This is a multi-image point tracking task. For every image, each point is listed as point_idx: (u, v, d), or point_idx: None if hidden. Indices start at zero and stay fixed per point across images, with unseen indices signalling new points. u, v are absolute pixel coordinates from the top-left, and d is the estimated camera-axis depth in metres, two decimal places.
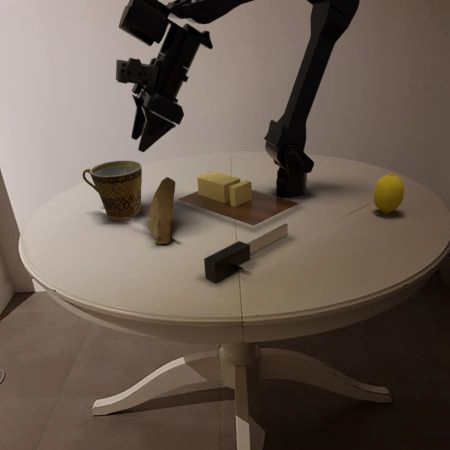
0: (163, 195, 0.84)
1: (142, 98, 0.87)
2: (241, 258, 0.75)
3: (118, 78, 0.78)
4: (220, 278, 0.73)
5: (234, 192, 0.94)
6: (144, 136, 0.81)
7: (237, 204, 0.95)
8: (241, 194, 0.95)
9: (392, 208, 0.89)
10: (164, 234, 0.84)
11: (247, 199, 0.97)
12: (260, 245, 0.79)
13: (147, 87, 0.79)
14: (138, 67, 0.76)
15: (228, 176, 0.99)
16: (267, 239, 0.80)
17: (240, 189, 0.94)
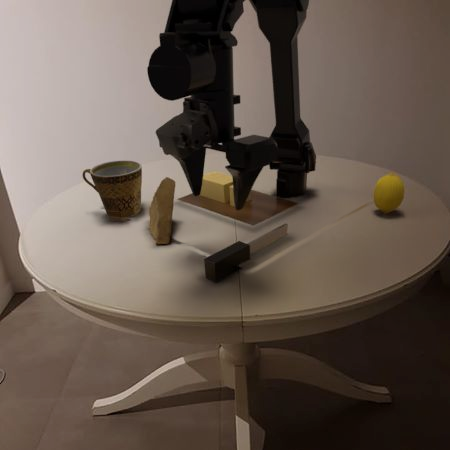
0: (163, 195, 0.84)
1: None
2: (241, 258, 0.75)
3: (180, 154, 0.60)
4: (220, 278, 0.73)
5: None
6: (239, 194, 0.64)
7: None
8: None
9: (392, 208, 0.89)
10: (164, 234, 0.84)
11: (247, 199, 0.97)
12: (260, 245, 0.79)
13: (212, 140, 0.61)
14: (202, 129, 0.57)
15: (228, 176, 0.99)
16: (267, 239, 0.80)
17: None
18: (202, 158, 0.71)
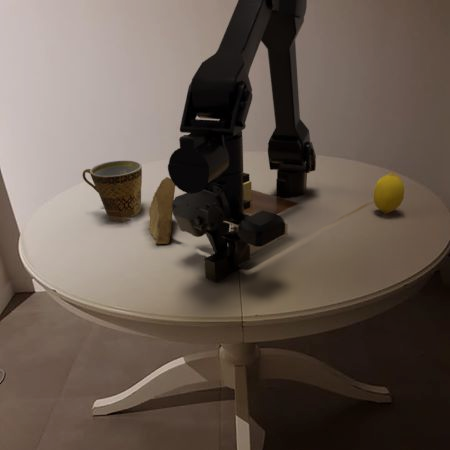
0: (163, 195, 0.84)
1: None
2: (241, 258, 0.75)
3: (196, 233, 0.65)
4: (220, 278, 0.73)
5: None
6: (234, 256, 0.72)
7: None
8: None
9: (392, 208, 0.89)
10: (164, 234, 0.84)
11: (247, 199, 0.97)
12: None
13: (225, 218, 0.66)
14: (217, 212, 0.62)
15: None
16: None
17: None
18: (227, 228, 0.74)
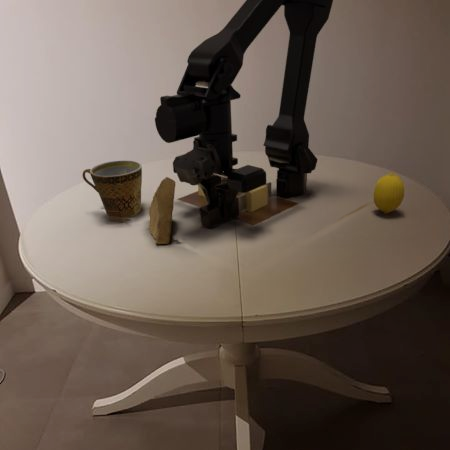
0: (163, 195, 0.84)
1: None
2: (231, 209, 0.89)
3: (192, 182, 0.79)
4: (213, 225, 0.87)
5: (250, 197, 0.91)
6: (225, 205, 0.86)
7: (253, 209, 0.93)
8: (257, 199, 0.93)
9: (392, 208, 0.89)
10: (164, 234, 0.84)
11: (263, 204, 0.94)
12: None
13: (216, 170, 0.80)
14: (209, 164, 0.76)
15: None
16: None
17: (256, 194, 0.92)
18: (219, 183, 0.88)
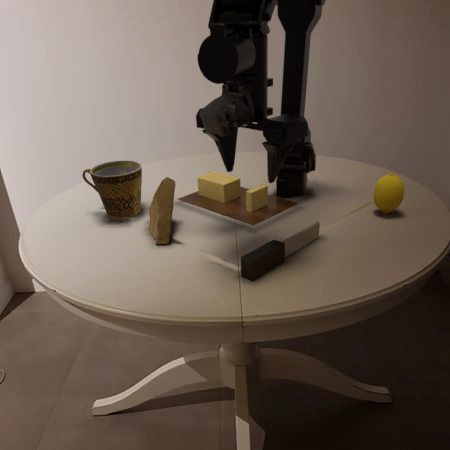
0: (163, 195, 0.84)
1: None
2: (276, 257, 0.75)
3: (222, 132, 0.67)
4: (256, 276, 0.73)
5: (250, 197, 0.91)
6: (272, 168, 0.72)
7: (253, 209, 0.93)
8: (258, 199, 0.93)
9: (392, 208, 0.89)
10: (164, 234, 0.84)
11: (263, 204, 0.94)
12: (294, 244, 0.79)
13: (250, 119, 0.68)
14: (243, 109, 0.65)
15: (228, 176, 0.99)
16: (300, 237, 0.80)
17: (256, 194, 0.92)
18: (234, 137, 0.78)
